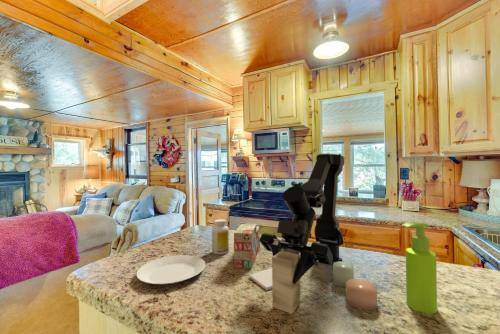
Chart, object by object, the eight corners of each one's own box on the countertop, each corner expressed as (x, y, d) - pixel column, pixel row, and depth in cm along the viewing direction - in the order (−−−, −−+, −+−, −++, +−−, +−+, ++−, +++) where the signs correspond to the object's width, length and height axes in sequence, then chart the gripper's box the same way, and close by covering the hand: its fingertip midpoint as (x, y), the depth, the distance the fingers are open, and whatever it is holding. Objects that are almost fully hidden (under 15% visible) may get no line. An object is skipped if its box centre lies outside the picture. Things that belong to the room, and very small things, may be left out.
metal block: (282, 296, 60) (281, 250, 60) (300, 303, 57) (299, 254, 57) (272, 306, 55) (272, 256, 56) (291, 313, 53) (290, 261, 53)
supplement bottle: (232, 251, 93) (231, 219, 93) (221, 256, 87) (221, 223, 87) (219, 248, 96) (219, 217, 96) (208, 253, 91) (208, 221, 91)
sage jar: (343, 276, 70) (343, 260, 70) (358, 285, 65) (358, 267, 65) (329, 280, 68) (328, 263, 68) (343, 289, 63) (343, 271, 63)
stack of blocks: (245, 246, 98) (245, 218, 98) (260, 247, 97) (259, 218, 97) (233, 268, 77) (233, 232, 77) (252, 269, 76) (251, 232, 76)
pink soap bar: (360, 291, 62) (360, 277, 62) (383, 306, 55) (383, 289, 55) (340, 297, 59) (339, 282, 59) (362, 313, 53) (362, 295, 53)
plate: (175, 257, 88) (175, 251, 88) (218, 268, 77) (218, 262, 77) (122, 280, 70) (122, 272, 70) (167, 299, 59) (167, 290, 59)
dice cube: (299, 253, 90) (299, 240, 90) (288, 255, 88) (288, 242, 88) (292, 249, 94) (292, 237, 95) (281, 251, 93) (281, 238, 93)
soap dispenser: (396, 300, 57) (395, 220, 58) (422, 298, 58) (421, 219, 58) (415, 315, 52) (414, 226, 52) (443, 313, 52) (442, 225, 52)
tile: (272, 270, 75) (272, 267, 75) (291, 281, 67) (291, 278, 67) (249, 277, 70) (249, 274, 70) (266, 290, 63) (266, 287, 63)
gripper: (262, 204, 65) (238, 255, 56) (328, 211, 54) (312, 276, 45) (276, 226, 71) (256, 275, 62) (338, 236, 60) (325, 297, 51)
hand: (283, 280), depth 55 cm, fingers closed on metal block, 5 cm apart
